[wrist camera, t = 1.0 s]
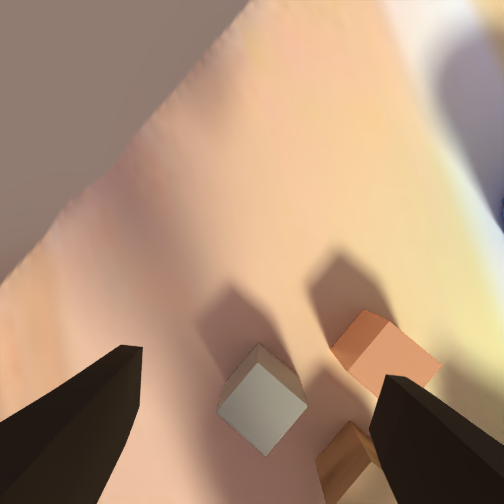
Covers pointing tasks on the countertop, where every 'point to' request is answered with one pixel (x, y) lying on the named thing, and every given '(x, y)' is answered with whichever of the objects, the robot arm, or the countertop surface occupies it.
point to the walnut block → (353, 470)
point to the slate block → (262, 399)
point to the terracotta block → (382, 353)
